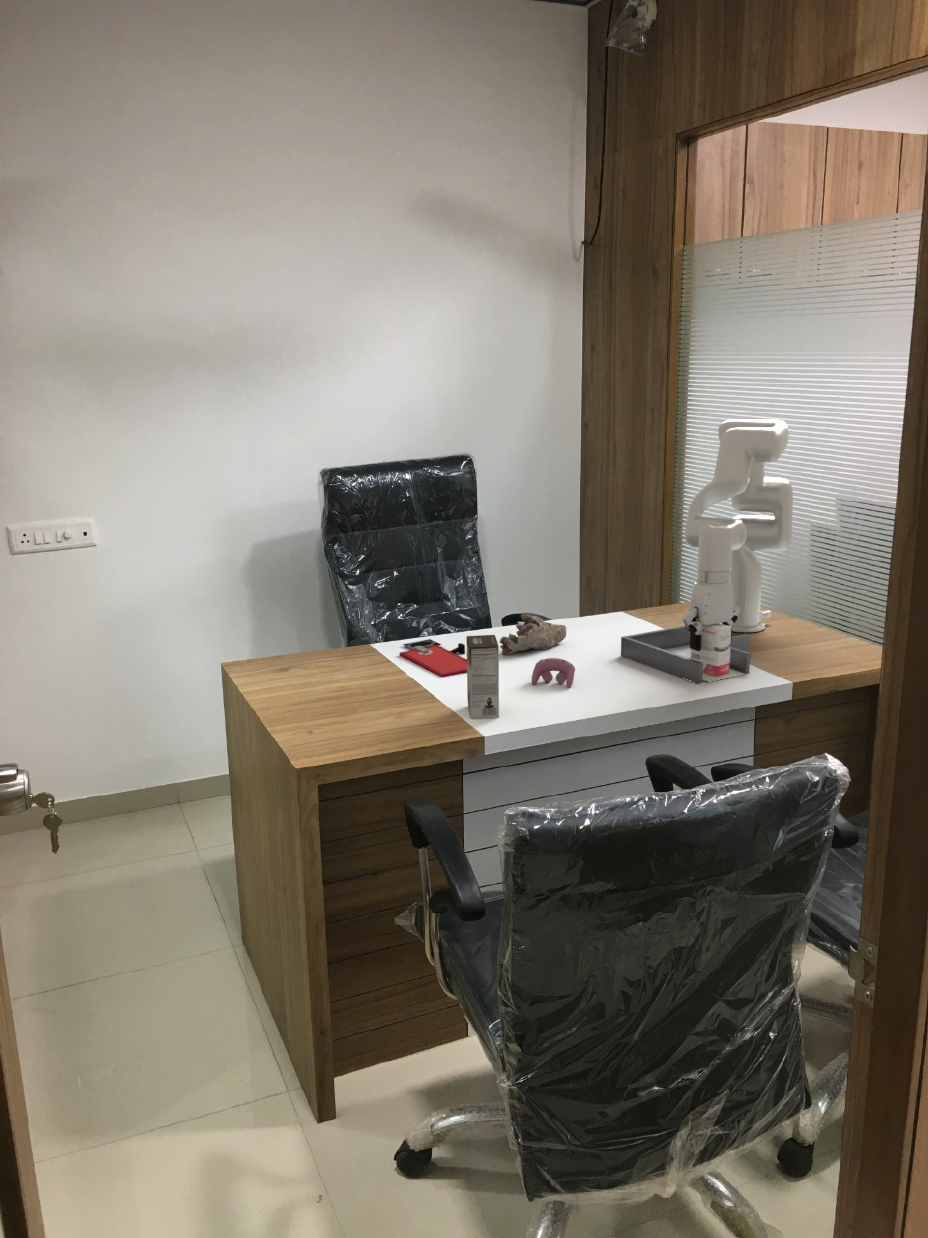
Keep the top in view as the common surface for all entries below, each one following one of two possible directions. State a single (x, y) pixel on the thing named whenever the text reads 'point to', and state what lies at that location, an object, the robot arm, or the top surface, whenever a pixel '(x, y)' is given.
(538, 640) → the mineral specimen
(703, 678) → the pad
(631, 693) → the top surface
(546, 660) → the video game controller
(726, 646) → the ink box
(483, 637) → the coffee box
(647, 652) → the gray open tray
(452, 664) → the red board with handle
